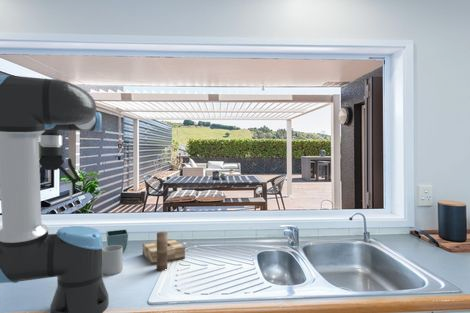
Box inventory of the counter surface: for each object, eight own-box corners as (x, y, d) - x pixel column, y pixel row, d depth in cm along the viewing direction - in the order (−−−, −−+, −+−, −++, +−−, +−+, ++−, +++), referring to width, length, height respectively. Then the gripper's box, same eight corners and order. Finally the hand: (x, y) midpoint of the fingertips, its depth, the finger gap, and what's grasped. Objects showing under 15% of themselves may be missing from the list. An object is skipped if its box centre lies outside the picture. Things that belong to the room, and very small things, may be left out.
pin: (168, 269, 119) (168, 233, 119) (158, 271, 117) (158, 235, 117) (165, 266, 123) (165, 231, 122) (155, 268, 121) (155, 232, 120)
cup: (97, 274, 114) (97, 250, 114) (113, 264, 124) (113, 242, 124) (115, 276, 113) (115, 251, 113) (129, 266, 123) (129, 243, 122)
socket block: (184, 258, 131) (184, 247, 131) (152, 264, 124) (152, 252, 124) (173, 249, 143) (173, 238, 143) (142, 254, 136) (142, 243, 136)
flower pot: (106, 250, 141) (106, 231, 141) (126, 248, 145) (126, 229, 144) (106, 256, 133) (106, 235, 133) (128, 254, 137) (128, 233, 136)
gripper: (84, 147, 133) (84, 196, 133) (13, 146, 119) (13, 201, 119) (87, 146, 126) (87, 198, 127) (12, 145, 113) (12, 203, 113)
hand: (51, 200), depth 123 cm, fingers open, 13 cm apart
